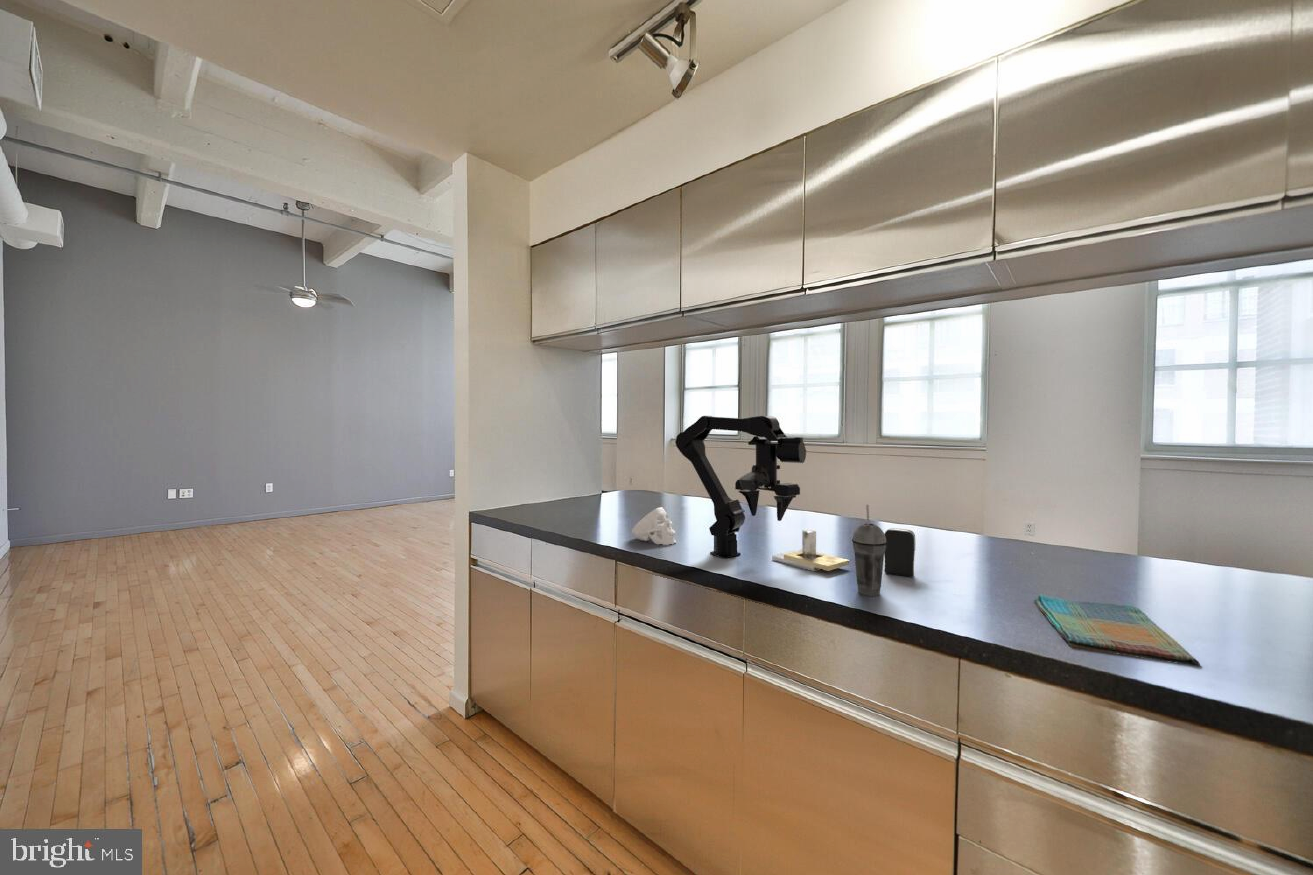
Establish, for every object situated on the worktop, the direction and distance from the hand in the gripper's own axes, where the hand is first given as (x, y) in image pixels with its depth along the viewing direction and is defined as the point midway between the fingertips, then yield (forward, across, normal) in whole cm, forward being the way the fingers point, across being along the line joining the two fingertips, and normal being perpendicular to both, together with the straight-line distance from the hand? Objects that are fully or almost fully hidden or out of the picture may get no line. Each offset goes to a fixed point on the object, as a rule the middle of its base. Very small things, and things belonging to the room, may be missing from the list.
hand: (766, 518), depth 138 cm
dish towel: (+13, +68, +15) cm, 71 cm away
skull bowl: (+12, -38, -10) cm, 41 cm away
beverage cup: (+12, +31, -1) cm, 33 cm away
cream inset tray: (+12, +9, +7) cm, 17 cm away
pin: (+12, +9, +7) cm, 16 cm away
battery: (+12, +28, +18) cm, 35 cm away
